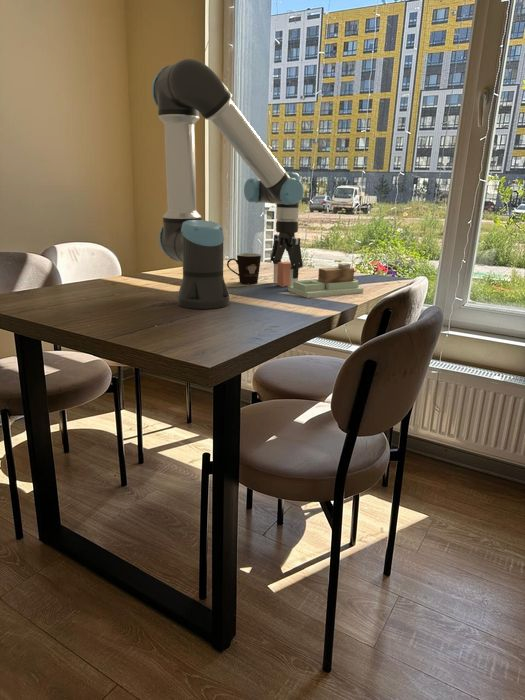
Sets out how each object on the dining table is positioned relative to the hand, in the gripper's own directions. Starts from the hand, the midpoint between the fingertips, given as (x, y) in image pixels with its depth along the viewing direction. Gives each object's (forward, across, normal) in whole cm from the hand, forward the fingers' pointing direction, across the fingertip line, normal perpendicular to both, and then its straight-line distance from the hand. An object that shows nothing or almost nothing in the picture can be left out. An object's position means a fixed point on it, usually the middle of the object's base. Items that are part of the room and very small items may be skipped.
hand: (285, 284), depth 182 cm
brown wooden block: (-1, -15, -11) cm, 19 cm away
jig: (0, -15, -7) cm, 17 cm away
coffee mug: (0, +10, +11) cm, 15 cm away
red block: (0, 0, 0) cm, 0 cm away
